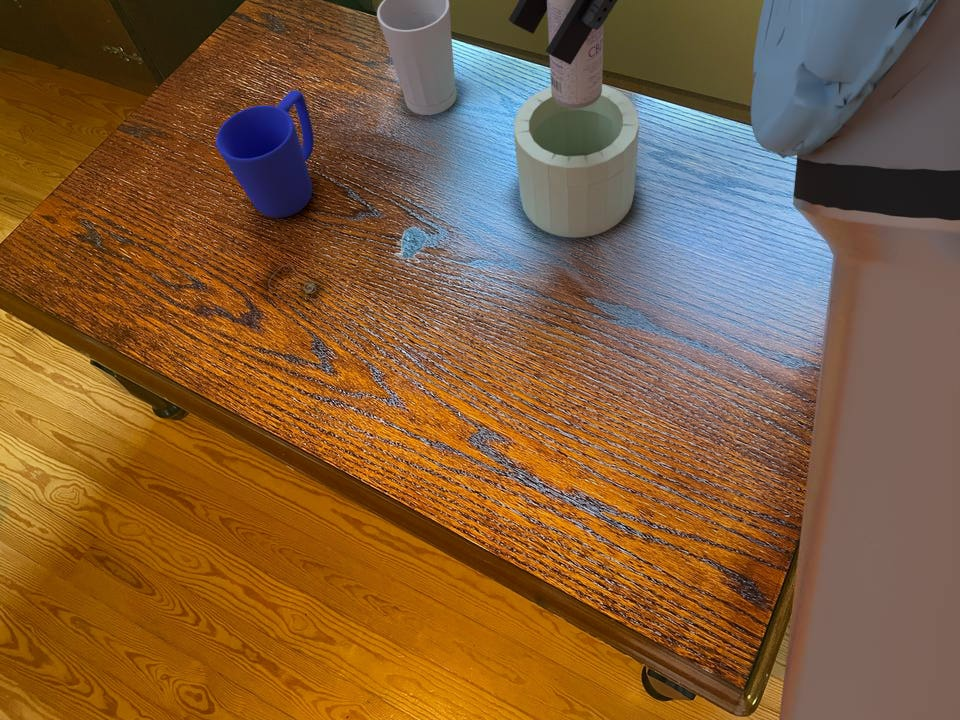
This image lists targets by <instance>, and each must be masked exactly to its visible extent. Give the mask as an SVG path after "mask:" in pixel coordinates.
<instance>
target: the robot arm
mask: <svg viewBox="0 0 960 720" xmlns="http://www.w3.org/2000/svg"><path fill="white" fill-rule="evenodd" d="M618 1H619V0H576V1H575V2H574V4H573V6H572V7H571V9H570V11H569V12H568V14H567V16H566V18H565V19H564V21H563V23H562V24H561V26H560V28H559V29H558V31H557V33H556V34H555V36H554V38H553V39H552V41H551V43H550V44H549V43H548V46H547V48H546V49H545V52H546V53H547V54H549V56H550V55H551V56H553V57H555V58H558V59H560V60H562V61H564V62H566V63H568V64H570V65H571V63H572V62H573V60H574V58H575V57H576V55H577V53H578V52H579V50H580V49H581V47H582V45H583V44H584V42H585V41H586V39H587V37H588V36H589V34H590V32H591V31H592V29H595V30H598V29H599V28H600V27H601V26H602V25H603V26H604V23H605V22H606V19H607V18H608V17H609V14H611V12H612V11H613V8H615V5H616V4H617V2H618ZM545 14H547V0H518V1H517V3H516V5H515V7H514V9H513V11H512V12H511V14H510V16H509V18H508V21H509V22H510V23H511V24H513V25H514V26H516V27H518V28H519V29H520V28H521V29H522V30H523V31H526V32H528V33H530V34H532V35H534V33H535V32H536V30H537V29H538V26H539V25H540V23H541V21H542V20H543V18H544V16H545ZM754 47H755V48H754V54H753V63H752V64H753V65H752V78H753V80H754V81H753V86H752V90H751V91H752V92H751V99H750V109H749V110H750V120H751V121H750V122H751V129H752V133H753V136H754V139H755V141H756V142H757V143H758V145H760V147H761V148H762V149H764V150H766V151H767V152H771V153H774V154H777V155H779V156H780V157H781V159H786V158H787V157H789V158H790V157H796V165H795V175H794V176H795V177H794V185H793V186H794V187H793V194H792V195H793V197H792V205H793V207H794V208H795V209H796V210H797V211H798V212H799V213H800V214H801V215H802V217H803V218H804V219H805V220H806V221H807V222H808V223H809V224H810V225H811V227H812V229H814V230H815V231H816V233H818V234H819V236H820V237H821V238H822V239H823V240H824V241H825V243H826V244H827V246H828V248H829V250H830V252H831V254H832V262H831V263H832V264H831V271H830V280H829V289H828V299H827V304H826V305H827V307H826V313H825V324H824V332H823V341H822V349H821V357H820V367H819V374H818V384H817V393H816V401H815V409H814V417H813V418H814V419H813V426H812V435H811V442H810V443H811V444H810V451H809V452H810V453H809V459H808V470H807V477H806V485H805V495H804V496H805V497H804V504H803V512H802V520H801V529H800V538H799V546H798V555H797V563H796V571H795V572H796V573H795V581H794V589H793V597H792V605H791V613H790V614H791V615H790V623H789V632H788V634H789V635H788V641H787V649H786V658H785V667H784V675H783V683H782V693H781V701H780V710H779V717H778V718H779V719H778V720H960V0H763V2H762V7H761V13H760V16H759V23H758V28H757V34H756V39H755V46H754Z"/></svg>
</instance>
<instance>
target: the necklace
mask: <svg viewBox="0 0 960 720" xmlns="http://www.w3.org/2000/svg"><path fill="white" fill-rule="evenodd" d="M285 266H287V264H284V265H283V267H285ZM288 266H289V267H290V268H292V270H294V271H295V273H296V275H299V273H298V271H296V270H295V269H294V267H293V266H292V265H290V264H288ZM281 268H282V266H280V267H279V268H278V269H277V270H276V271H275V272H274V274H273V275H272V276H271V277H270V279H269V281H268V283H270V282H271V279H272V278H273V276H274V275H275V274H276V273H277V272H278V271H279V270H280V269H281ZM299 278H301V279H303V280H304V281H305V282H306V283H305V284H304V285H303V290H304V292H305V294H310V293H311V294H314V293H315V292H316V291H317V286H316V285H315V283H314V282H310V283H309V282H308V281H307V280H306V279H305V278H303V277H302V276H301V275H299ZM306 285H307V286H306ZM305 286H306V288H305ZM268 287H269V288H270V289H272V287H271V286H270V285H268ZM288 287H293V288H297V289H300V287H299V286H294V285H286V286H285V288H288ZM283 288H284V286H279V287H277V286H276V289H283ZM314 289H315V290H314Z"/></svg>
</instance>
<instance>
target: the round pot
mask: <svg viewBox="0 0 960 720" xmlns="http://www.w3.org/2000/svg"><path fill="white" fill-rule="evenodd" d="M639 134H640V119H639V112H638V110H637V109H636V107H635V105H634V103H633V102H632V100H631V99H630V98H629V97H627V96H626V95H625V94H624V93H622V91H619V90H618V89H616V88H613V87H611V86H609V85H606V84H603V83H602V93H601V96H600V97H599V99H598V100H597V101H596V102H594V103H593V104H591V105H589V106H586V107H582V108H567V107H564V106H562V105H560V104H558V103H557V102H556V101H555V100H554V99H553V97H552V92H551V86H549V87H545V88H544V89H542V90H540V91H538V92H536V93H535V94H533V95H531V96H530V97H529V98H528V99H527V100H526V101H525V102H524V103H523V104H522V105H521V106H520V107H519V109H518V112H517V114H516V116H515V118H514V120H513V137H514V147H515V148H514V149H515V156H516V166H517V178H518V186H519V196H520V197H519V198H520V201H521V207H522V210H523V212H524V213H525V215H526V217H527V218H528V220H529V221H530V222H532V224H534V226H536V227H537V228H539V229H541V230H542V231H544V232H546V233H549V234H551V235H555V236H557V237H564V238H574V239H575V238H587V237H592V236H596V235H599V234H602V233H604V232H606V231H608V230H611V229H612V228H614V227H615V226H616V225H617V224H619V223H620V222H621V221H622V220H623V219H624V218H625V217H626V216H627V214H628V213H629V212H630V210H631V207H632V204H633V201H634V195H635V188H636V187H635V186H636V175H637V160H638V148H639V137H640V136H639Z"/></svg>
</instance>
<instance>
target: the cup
mask: <svg viewBox="0 0 960 720" xmlns="http://www.w3.org/2000/svg"><path fill="white" fill-rule="evenodd" d="M376 16H377V21H378V24H379V26H380V29H381V32H382V35H383V37H384V40H385V43H386V46H387V47H388V51H389V54H390V58H391V61H392V64H393V66H394V70H395V72H396V75H397V79H398V81H399V84H400V87H401V90H402V93H403V97H404V101H405V105H406V107H407V108H408V109H409V110H410V111H411V112H412V113H415V114H416V115H422V116H432V115H438V114H441V113H443V112H445V111H447V110H449V108H451V107H452V106H453V105H454V104H455V102H456V101H457V96H458V91H457V86H456V78H455V77H456V76H455V65H454V63H455V62H454V52H453V41H452V25H451V24H452V23H451V10H450V0H382V1H381V3H379V6H378V8H377V11H376Z"/></svg>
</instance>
